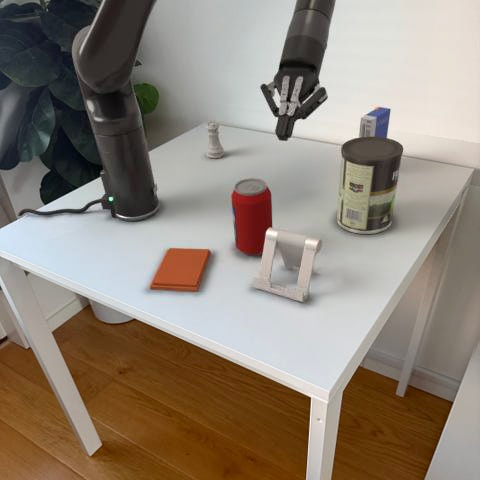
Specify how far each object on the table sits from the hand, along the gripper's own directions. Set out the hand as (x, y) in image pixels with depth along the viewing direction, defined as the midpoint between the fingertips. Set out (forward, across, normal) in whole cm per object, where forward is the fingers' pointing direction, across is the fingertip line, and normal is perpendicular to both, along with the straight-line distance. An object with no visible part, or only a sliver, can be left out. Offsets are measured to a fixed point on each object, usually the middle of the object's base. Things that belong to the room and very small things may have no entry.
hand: (282, 138), depth 87 cm
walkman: (-7, +12, +27) cm, 31 cm away
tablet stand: (+26, +9, -6) cm, 29 cm away
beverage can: (+20, 0, 0) cm, 21 cm away
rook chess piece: (-4, -26, +25) cm, 36 cm away
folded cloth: (+28, -9, -8) cm, 30 cm away
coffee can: (+10, +16, +11) cm, 22 cm away
